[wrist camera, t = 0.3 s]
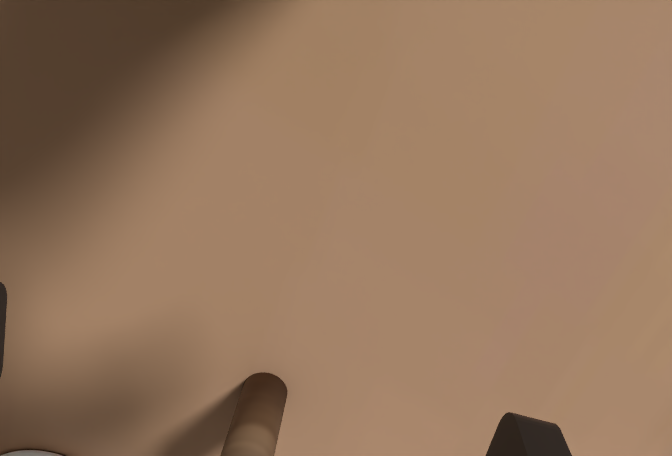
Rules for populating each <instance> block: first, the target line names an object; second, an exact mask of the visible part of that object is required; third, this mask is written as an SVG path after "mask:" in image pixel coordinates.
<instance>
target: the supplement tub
mask: <svg viewBox="0 0 672 456" xmlns="http://www.w3.org/2000/svg"><path fill="white" fill-rule="evenodd" d="M0 456H63V455H59V454H56V453H51V452H46V451H39V450H22V451H15V452H10V453H6V454H3V455H0Z"/></svg>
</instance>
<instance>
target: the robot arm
mask: <svg viewBox="0 0 672 456" xmlns="http://www.w3.org/2000/svg"><path fill="white" fill-rule="evenodd" d="M6 306H7V292H6V288H5V286H4V284H2V283H1V282H0V377H1V373H2V368H3V355H4V339H5V322H6ZM486 456H572V455H571V453H570V450H569V448H568V446H567V443H566V441H565V439H564V437H563V434H562V432H561V430H560V428H559V427H558V426H557V425H556V424H554V423H550V422H546V421H542V420H538V419H534V418H530V417H526V416H522V415H518V414H514V413H510V412H508V413H506V414H505V415H504V416H503V417H502V419H501V420H500V422H499V424H498V427H497V429H496V432H495V434H494V437H493V439H492V441H491V444H490V446H489V449H488V451H487V454H486Z"/></svg>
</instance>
